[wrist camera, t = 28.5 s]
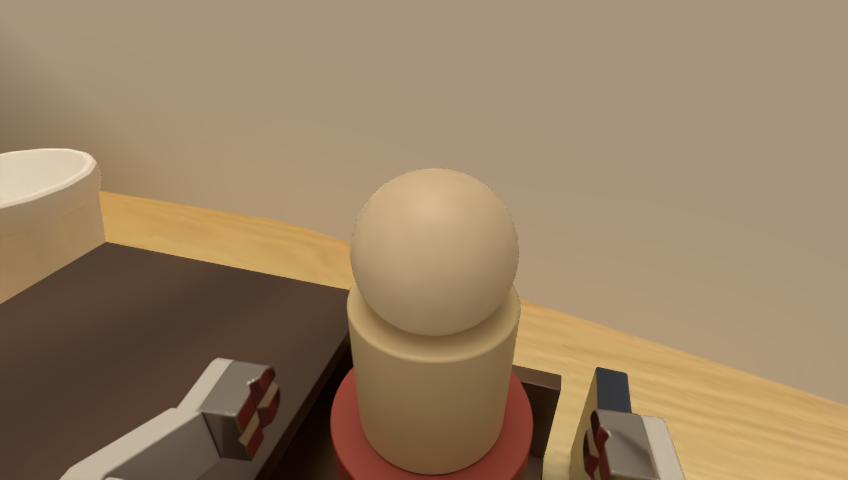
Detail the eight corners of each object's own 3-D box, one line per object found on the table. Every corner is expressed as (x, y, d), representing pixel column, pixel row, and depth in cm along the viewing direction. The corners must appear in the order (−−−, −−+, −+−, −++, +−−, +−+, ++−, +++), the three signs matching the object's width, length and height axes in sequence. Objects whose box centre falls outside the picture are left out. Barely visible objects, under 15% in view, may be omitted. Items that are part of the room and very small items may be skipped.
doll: (458, 450, 20) (483, 118, 12) (535, 586, 15) (656, 208, 7) (336, 505, 18) (266, 149, 10) (385, 678, 13) (333, 297, 5)
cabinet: (379, 401, 24) (371, 293, 20) (213, 765, 13) (123, 689, 9) (151, 342, 28) (105, 241, 24) (-126, 587, 17) (-296, 477, 13)
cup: (110, 333, 29) (45, 207, 24) (-66, 352, 27) (-174, 222, 22) (160, 249, 37) (120, 143, 32) (28, 261, 36) (-36, 151, 31)
